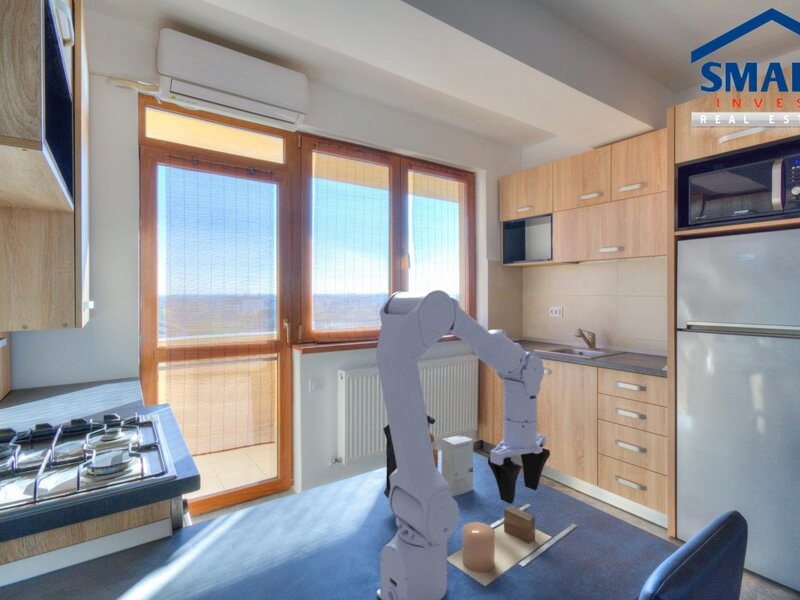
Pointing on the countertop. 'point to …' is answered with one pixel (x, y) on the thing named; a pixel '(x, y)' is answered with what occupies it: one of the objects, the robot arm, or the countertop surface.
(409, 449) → the robot arm
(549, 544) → the guide rails
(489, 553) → the tan rounded piece
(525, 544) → the beige board with block
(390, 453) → the canister
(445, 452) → the skincare box
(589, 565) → the countertop surface
